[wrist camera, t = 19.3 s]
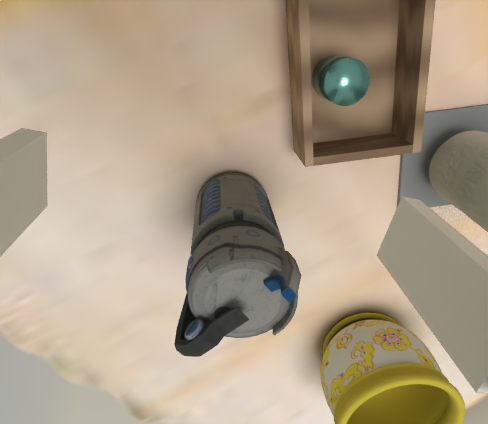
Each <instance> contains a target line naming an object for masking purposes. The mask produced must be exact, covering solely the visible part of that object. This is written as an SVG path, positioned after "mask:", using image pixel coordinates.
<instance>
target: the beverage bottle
mask: <svg viewBox="0 0 488 424" xmlns="http://www.w3.org/2000/svg"><path fill="white" fill-rule="evenodd" d="M300 278H301V274H300V271H299V268H298V266H297V263H296V260H295V259H294V258H293V257H292V255H291V254H290V253H289V252H288V251H285V249H284V244H283V241H282V238H281V235H280V232H279V229H278V226H277V223H276V220H275V217H274V214H273V212H272V209H271V206H270V203H269V200H268V197H267V194H266V192H265V190H264V188H263V187H262V185H261V184H260V183H259V182H257V181H256V180H255V179H253V178H252V177H250V176H247V175H245V174H241V173H225V174H221V175H218V176H216V177H214V178H212V179H211V180H209V181H208V182H207V183H206V184H205V185H204V186H203V188H202V189H201V190H200V192H199V195H198V197H197V202H196V209H195V218H194V228H193V237H192V247H191V256H190V258H189V260H188V266H187V273H186V290H187V294H186V298H185V301H184V305H183V308H182V312H181V315H180V319H179V323H178V326H177V331H176V338H175V347H176V350H177V351H178V352H180V353H181V354H182V355H184V356H202V355H203V354H205V353H206V352H208V351H209V350H211V349H212V348H214V347H215V346H216V345H218V343H219V342H220V341H221V340H222V338H223V337H224V336H226V337H234V338H244V337H251V336H257V335H259V334H262V333H265V332H267V331H269V330H271V329H273V334H274V335H276V334H277V333H279V332H280V331H281V330H283V329H284V328H285V327H286V326H287V324H288V323H289V322H290V321H291V319H292V317H293V316H294V314H295V311H296V308H297V300H298V288H299V283H300Z"/></svg>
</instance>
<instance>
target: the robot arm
mask: <svg viewBox="0 0 488 424" xmlns="http://www.w3.org/2000/svg"><path fill="white" fill-rule="evenodd" d="M46 207H47V133H46V132H41V131H35V130H30V129H24V128H21V129H20V130H18V131H16V132H14V133H12V134H10V135H8V136H6V137H4V138H2V139H1V140H0V256H1V255H2V254H3V253H4V252H5V251H6V250H7V249H8V248H9V247H10V246H11V244H12V243H13V242H14V241H15V240H16V239H17V238H18V237H19V236H20V235H21V234H22V233H23V232H24V230H25V229H26V228H27V227H28V226H29V225H30V224H31V223H32V222H33V221H34V220H35V219H36V218H37V216H38V215H39V214H40V213H41V212H42V211H43V210H44V209H45V208H46ZM377 256H378V258H379V259H380V261H381V262H382V263H383V265H384V266H385V267H386V269H387V270H388V272H389V273H390V274H391V276H392V277H393V279H394V280H395V281H396V283H397V284H398V285H399V287H400V288H401V290H402V291H403V292H404V294H405V295H406V296H407V298H408V299H409V301H410V302H411V303H412V305H413V306H414V308H415V309H416V310H417V312H418V313H419V314H420V316H421V317H422V319H423V320H424V321H425V323H426V324H427V325H428V327H429V328H430V330H431V331H432V332H433V334H434V335H435V336H436V338H437V339H438V341H439V342H440V343H441V345H442V346H443V348H444V349H445V350H446V352H447V353H448V354H449V356H450V357H451V359H452V360H453V361H454V363H455V364H456V365H457V367H458V368H459V370H460V371H461V372H462V374H463V375H464V377H465V378H466V379H467V381H468V382H469V383H470V385H471V386H472V388H473V389H474V390H475V392H476V393H487V394H488V256H487V255H486V254H485V253H484V252H482V251H481V250H480V249H479V248H478V247H476V246H475V245H474V244H473V243H471V242H470V241H469V240H468V239H467V238H465V237H464V236H463V235H462V234H461V233H459V232H458V231H457V230H456V229H455V228H453V227H452V226H451V225H450V224H449V223H447V222H446V221H445V220H444V219H442V218H441V217H440V216H439V215H438V214H436V213H435V212H434V211H433V210H432V209H430V208H429V207H428V206H427V205H426V204H424V203H423V202H422V201H421V200H419V199H413V198H408V197H402V198H401V200H400V202H399V205H398V207H397V209H396V212H395V214H394V216H393V219H392V221H391V223H390V226H389V228H388V230H387V233H386V235H385V237H384V240H383V242H382V244H381V247H380V249H379V251H378V254H377Z"/></svg>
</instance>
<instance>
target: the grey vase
mask: <svg viewBox="0 0 488 424" xmlns="http://www.w3.org/2000/svg"><path fill="white" fill-rule="evenodd" d="M429 178H430V182H431V185H432V187H433V188H434V189H435V191H436V192H437V193H438V194H439V195H440V196H442V197H443V198H444V199H445V200H446V201H448V202H449V203H451V204H452V205H454V206H455V207H456V208H458V209H459V210H461V211H462V212H463V213H465V214H466V215H467V216H468V217H470V218H471V219H472V220H473V221H474V222H476V223H477V224H478V225H480V226H481V227H482V228H483V229H485V230H486V231H487V232H488V133H486V132H482V131H475V130H473V131H465V132H461V133H459V134H456V135H455V136H453V137H451V138H450V139H448V140H447V141H446V142H444V143H443V144H442V145H441V146H440V147H439V148H438V149H437V151H436V152H435V154H434V155H433V157H432V160H431V163H430V167H429Z"/></svg>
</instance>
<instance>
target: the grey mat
mask: <svg viewBox="0 0 488 424" xmlns="http://www.w3.org/2000/svg"><path fill="white" fill-rule="evenodd" d="M473 130H475V131H482V132H486V133H488V104H486V105H478V106H470V107H462V108H454V109H446V110H438V111H430V112H425V113H424V124H423V134H422V145H421V152H416V153H408V154H401V162H400V176H399V189H398V203H397V207H398V205H399V202H400V200H401V198H402V197H408V198H413V199H419V200H421V201H422V202H423V203H424V204H426V205H427V206H428V207H434V206H441V205H449V204H451V203H449V202H448V201H446V200H445V199H444V198H443V197H442V196H440V195H439V194H438V193H437V192H436V191H435V189H434V188H433V187H432V185H431V182H430V178H429V167H430V163H431V160H432V157H433V155H434V154H435V152H436V151H437V149H438V148H439V147H440V146H441V145H442V144H443V143H444V142H446V141H447V140H448V139H450V138H451V137H453V136H455V135H456V134H459V133H461V132H465V131H473Z"/></svg>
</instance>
